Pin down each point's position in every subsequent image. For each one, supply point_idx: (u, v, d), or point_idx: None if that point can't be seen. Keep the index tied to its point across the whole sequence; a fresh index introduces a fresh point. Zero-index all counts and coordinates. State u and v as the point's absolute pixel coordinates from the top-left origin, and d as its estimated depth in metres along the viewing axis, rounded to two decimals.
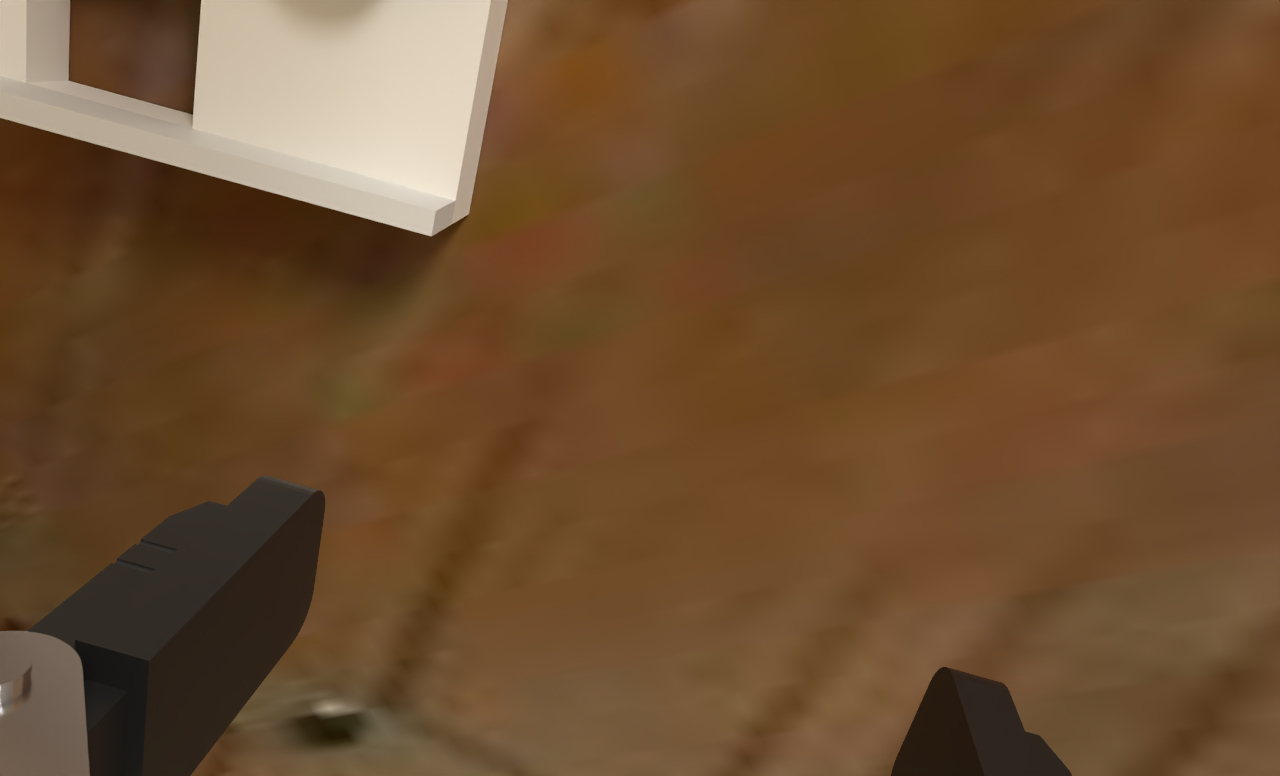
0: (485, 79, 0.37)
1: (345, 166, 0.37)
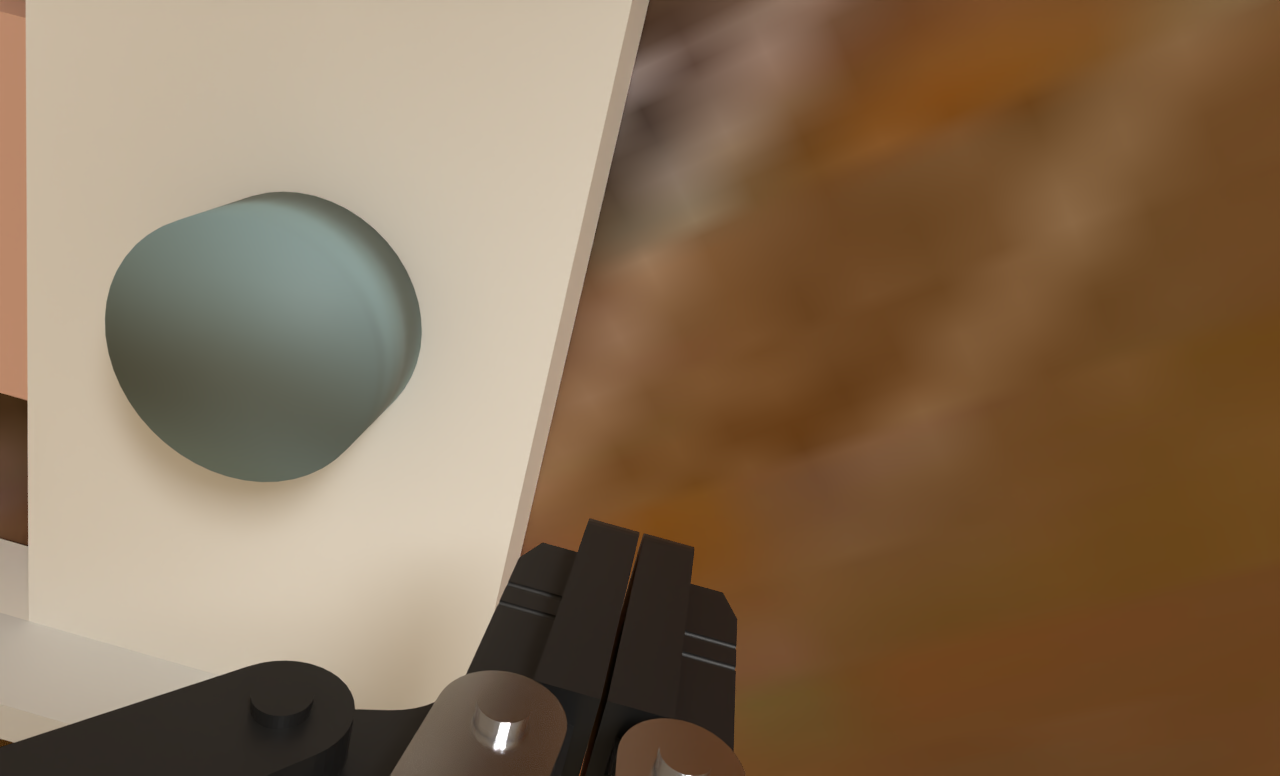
0: (513, 556, 0.22)
1: None
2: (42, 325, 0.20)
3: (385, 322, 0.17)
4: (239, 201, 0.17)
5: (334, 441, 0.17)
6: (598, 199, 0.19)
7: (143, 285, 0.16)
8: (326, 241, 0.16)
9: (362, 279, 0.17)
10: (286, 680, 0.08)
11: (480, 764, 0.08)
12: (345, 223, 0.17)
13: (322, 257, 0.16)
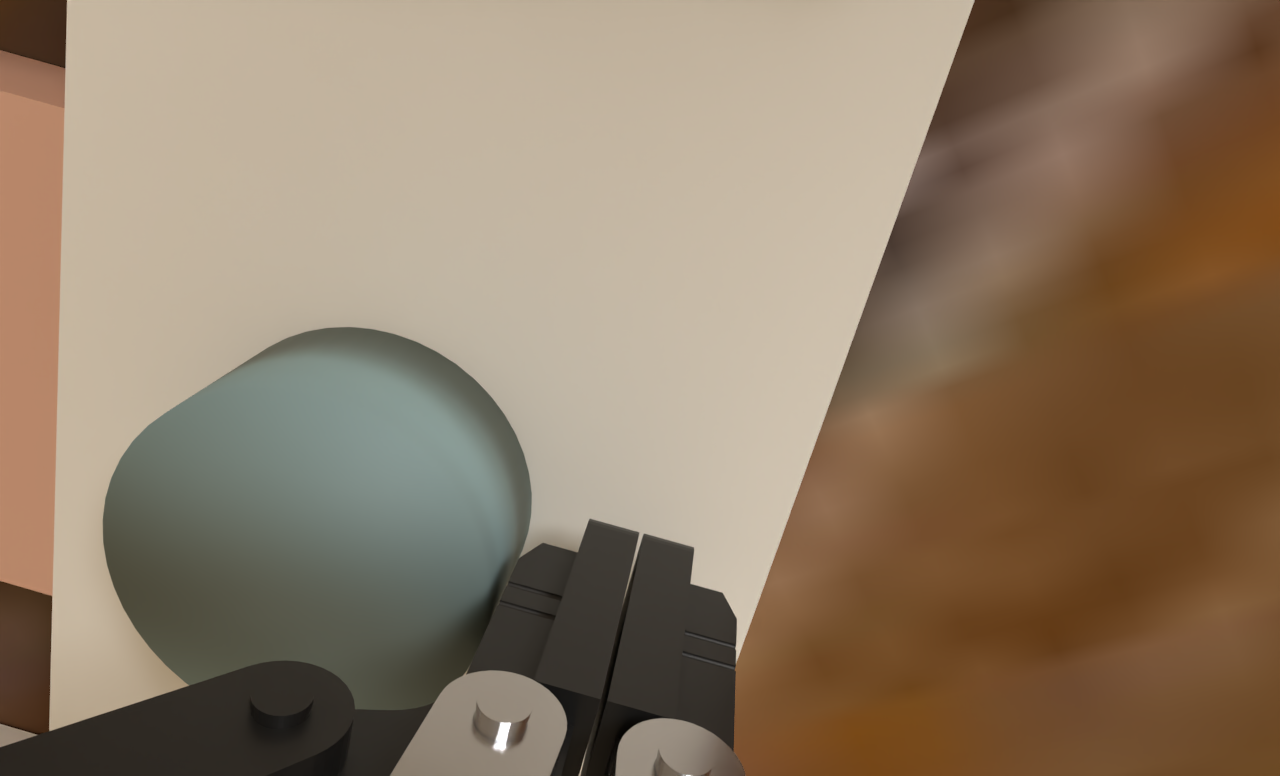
0: None
1: None
2: (75, 504, 0.15)
3: (497, 523, 0.12)
4: (292, 349, 0.12)
5: (424, 689, 0.12)
6: None
7: (158, 479, 0.11)
8: (420, 417, 0.12)
9: (470, 467, 0.12)
10: (286, 681, 0.08)
11: (480, 763, 0.08)
12: (439, 378, 0.13)
13: (418, 448, 0.11)
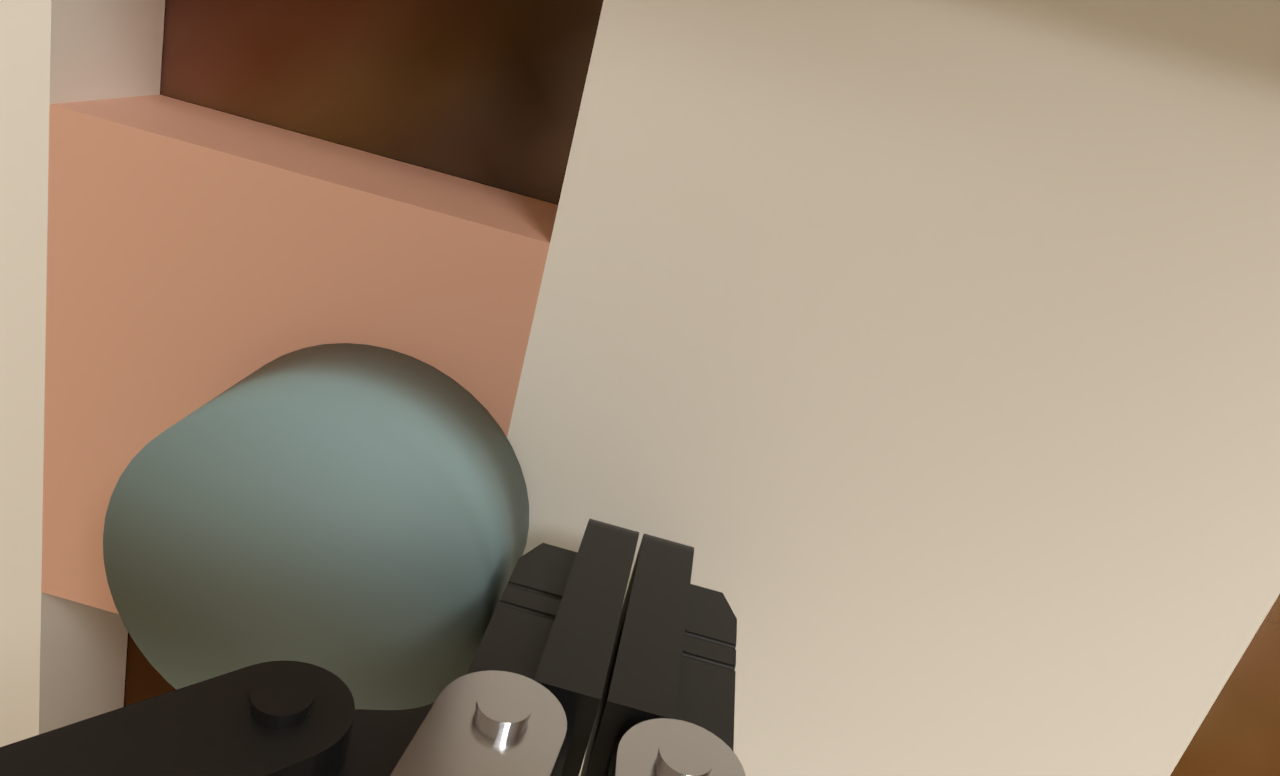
0: None
1: None
2: None
3: (494, 537, 0.12)
4: (289, 366, 0.12)
5: (423, 702, 0.12)
6: None
7: (157, 497, 0.12)
8: (415, 432, 0.12)
9: (466, 482, 0.12)
10: (285, 680, 0.08)
11: (479, 764, 0.08)
12: (434, 393, 0.13)
13: (414, 463, 0.11)
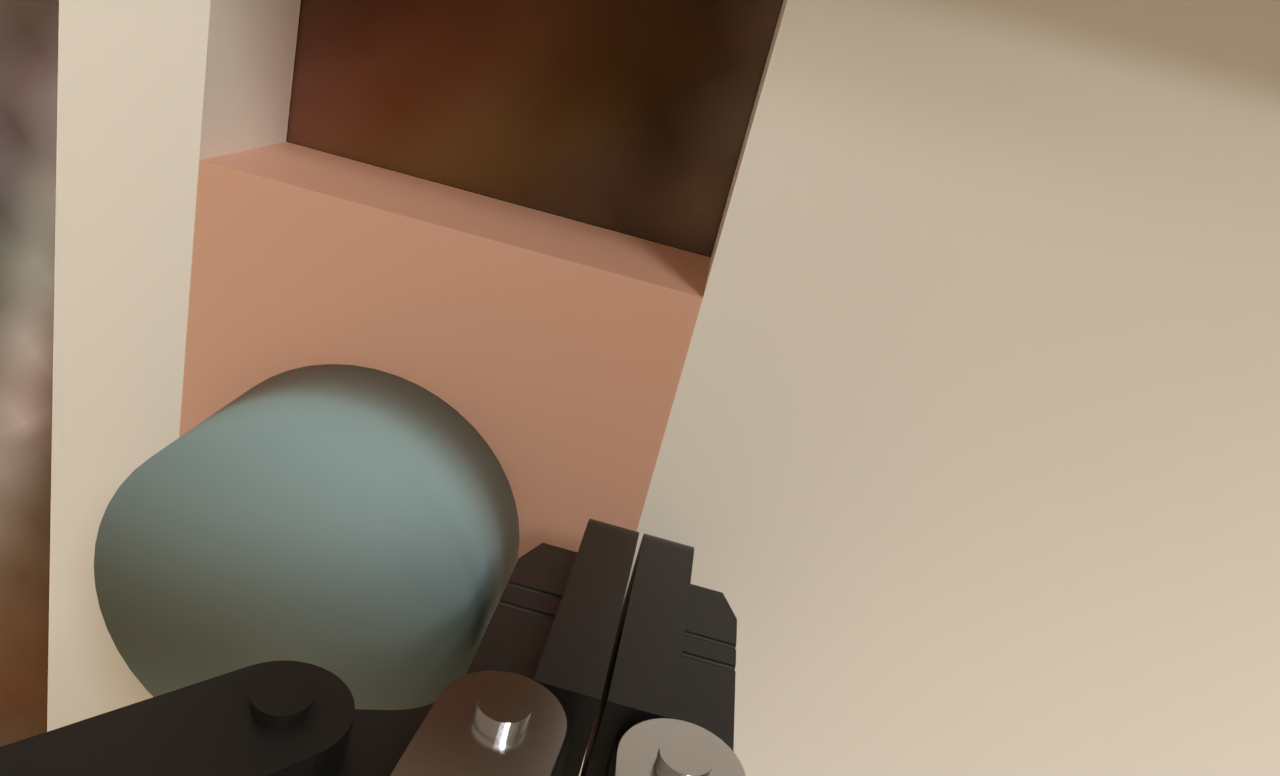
0: None
1: None
2: None
3: (482, 553, 0.12)
4: (274, 389, 0.13)
5: None
6: None
7: (146, 523, 0.12)
8: (400, 452, 0.12)
9: (451, 499, 0.12)
10: (286, 680, 0.08)
11: (478, 764, 0.08)
12: (419, 412, 0.13)
13: (397, 483, 0.11)
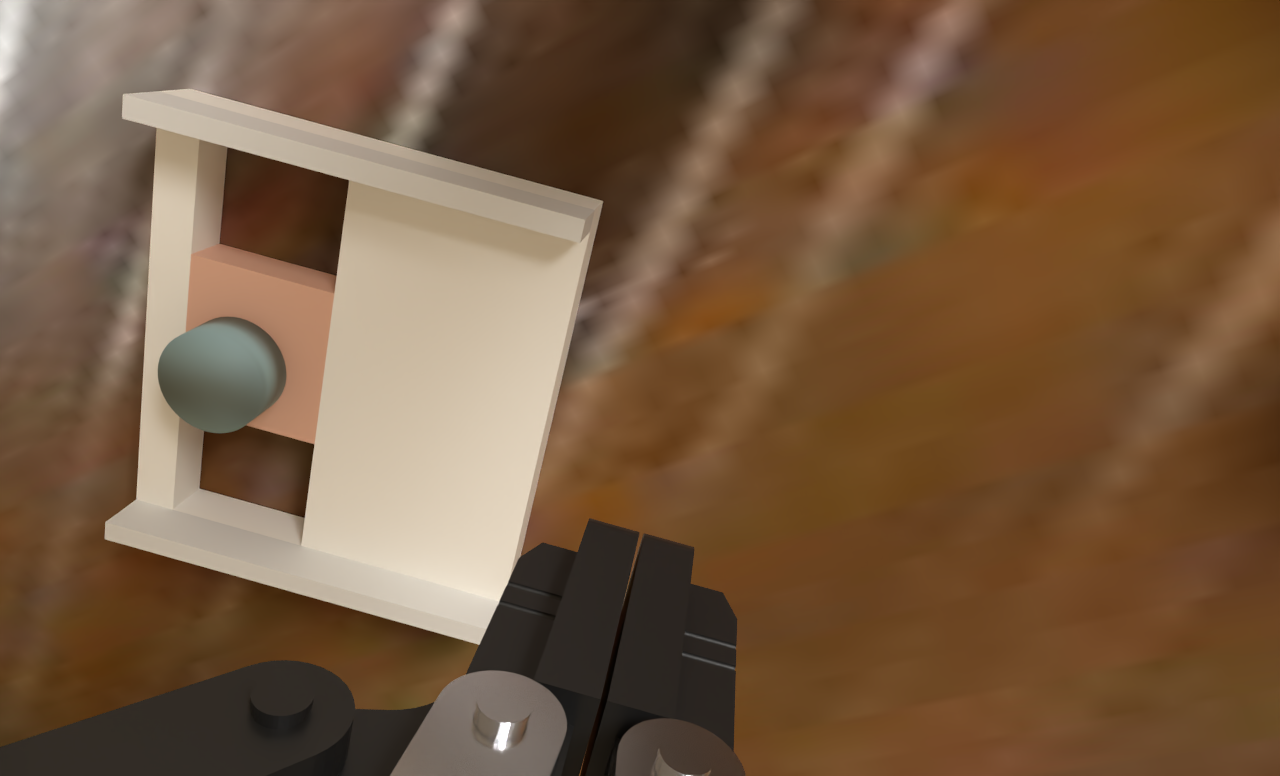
0: (527, 514, 0.48)
1: (419, 576, 0.48)
2: (325, 412, 0.46)
3: (266, 369, 0.43)
4: (209, 322, 0.44)
5: (247, 416, 0.44)
6: (564, 360, 0.45)
7: (172, 357, 0.43)
8: (242, 339, 0.43)
9: (256, 353, 0.43)
10: (285, 680, 0.08)
11: (479, 765, 0.08)
12: (251, 330, 0.44)
13: (239, 346, 0.42)
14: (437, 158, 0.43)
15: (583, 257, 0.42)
